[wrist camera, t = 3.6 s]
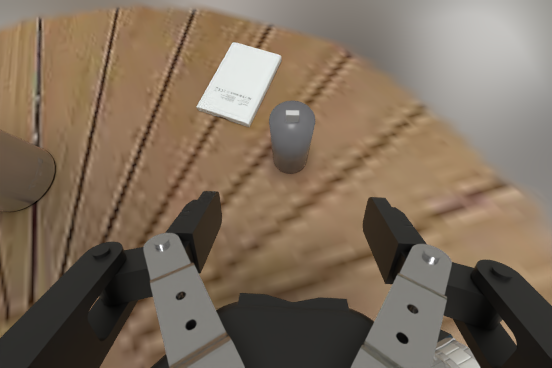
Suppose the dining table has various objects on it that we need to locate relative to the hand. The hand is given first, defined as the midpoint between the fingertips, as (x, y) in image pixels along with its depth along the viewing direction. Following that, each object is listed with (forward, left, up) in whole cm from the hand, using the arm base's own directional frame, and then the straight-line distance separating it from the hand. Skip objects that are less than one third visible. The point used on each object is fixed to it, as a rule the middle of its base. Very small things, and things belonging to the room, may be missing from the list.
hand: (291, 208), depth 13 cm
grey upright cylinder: (0, +10, -16) cm, 19 cm away
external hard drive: (-8, +22, -17) cm, 28 cm away
